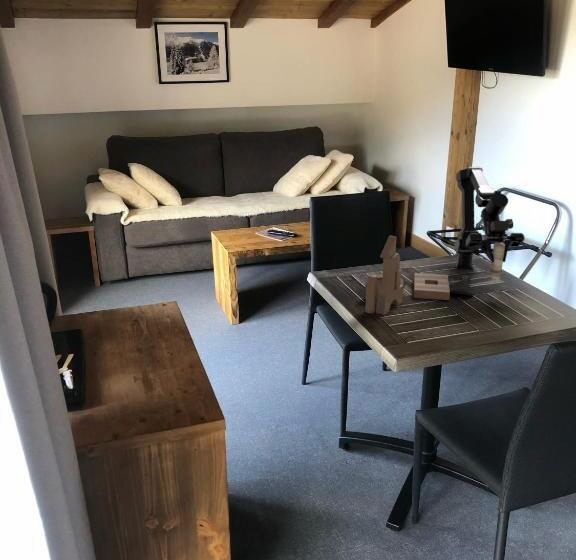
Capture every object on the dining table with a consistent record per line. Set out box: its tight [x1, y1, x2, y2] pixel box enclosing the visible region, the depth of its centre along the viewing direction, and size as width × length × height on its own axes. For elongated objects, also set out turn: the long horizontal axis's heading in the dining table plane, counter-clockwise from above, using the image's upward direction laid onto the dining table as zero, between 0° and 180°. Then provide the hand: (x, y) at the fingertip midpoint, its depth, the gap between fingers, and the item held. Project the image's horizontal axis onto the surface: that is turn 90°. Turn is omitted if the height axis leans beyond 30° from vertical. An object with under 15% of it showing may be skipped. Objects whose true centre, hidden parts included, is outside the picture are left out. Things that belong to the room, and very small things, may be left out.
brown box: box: [413, 272, 451, 301], centre depth 208 cm, size 18×12×3 cm, turn 168°
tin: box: [364, 273, 406, 300], centre depth 201 cm, size 15×3×8 cm, turn 111°
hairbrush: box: [449, 274, 475, 296], centre depth 211 cm, size 8×4×25 cm
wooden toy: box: [365, 235, 404, 316], centre depth 189 cm, size 16×7×25 cm, turn 144°
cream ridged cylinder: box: [489, 242, 505, 281], centre depth 197 cm, size 4×4×12 cm
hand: (498, 261), depth 196 cm, fingers closed on cream ridged cylinder, 4 cm apart
